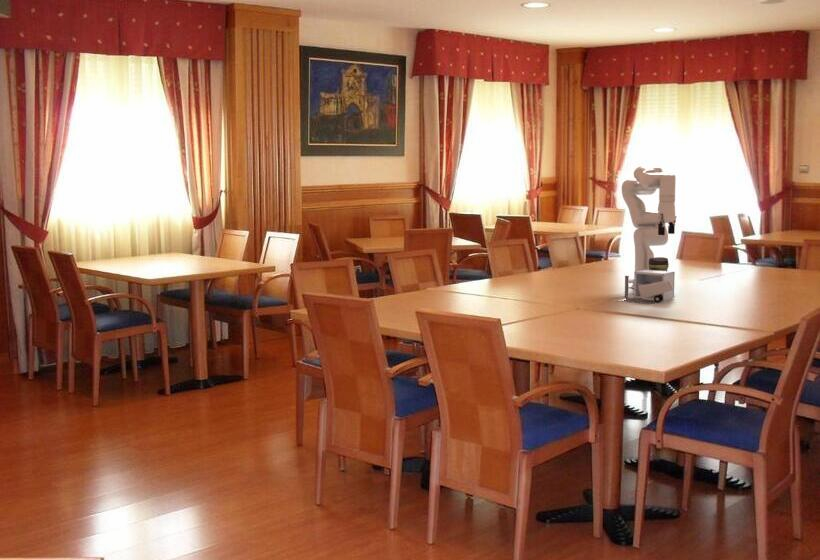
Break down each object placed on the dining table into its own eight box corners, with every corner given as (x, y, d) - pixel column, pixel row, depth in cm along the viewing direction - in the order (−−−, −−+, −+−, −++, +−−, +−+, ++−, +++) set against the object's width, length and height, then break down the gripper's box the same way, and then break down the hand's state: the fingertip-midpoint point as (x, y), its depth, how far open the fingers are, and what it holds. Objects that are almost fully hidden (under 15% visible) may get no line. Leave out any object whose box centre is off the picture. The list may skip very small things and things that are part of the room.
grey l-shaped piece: (615, 300, 471) (615, 277, 470) (627, 298, 479) (627, 275, 478) (649, 304, 459) (649, 280, 457) (661, 301, 467) (661, 278, 465)
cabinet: (634, 297, 479) (634, 271, 478) (644, 295, 487) (644, 269, 485) (663, 300, 469) (664, 273, 467) (674, 298, 476) (674, 271, 474)
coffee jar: (663, 293, 495) (664, 256, 493) (670, 295, 487) (671, 257, 485) (645, 293, 494) (646, 256, 491) (652, 295, 486) (652, 258, 484)
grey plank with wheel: (643, 306, 466) (674, 298, 458) (637, 286, 466) (667, 278, 459) (645, 305, 469) (676, 297, 462) (639, 285, 469) (669, 276, 462)
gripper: (668, 198, 489) (668, 232, 491) (651, 199, 476) (650, 235, 478) (682, 198, 483) (681, 233, 486) (665, 200, 471) (664, 235, 473)
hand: (666, 234), depth 482 cm, fingers open, 9 cm apart
